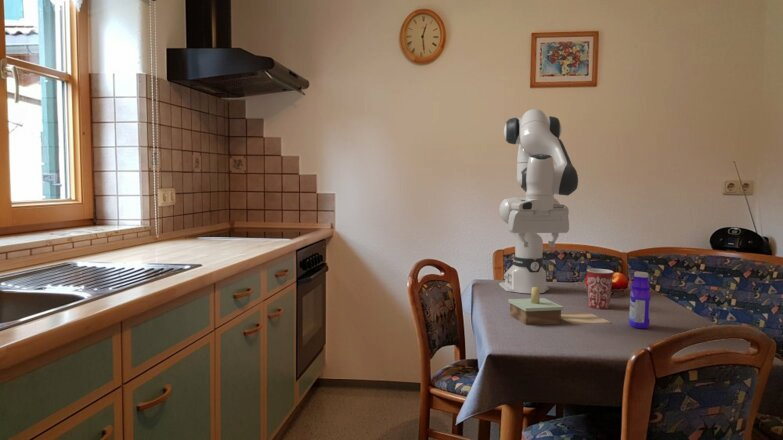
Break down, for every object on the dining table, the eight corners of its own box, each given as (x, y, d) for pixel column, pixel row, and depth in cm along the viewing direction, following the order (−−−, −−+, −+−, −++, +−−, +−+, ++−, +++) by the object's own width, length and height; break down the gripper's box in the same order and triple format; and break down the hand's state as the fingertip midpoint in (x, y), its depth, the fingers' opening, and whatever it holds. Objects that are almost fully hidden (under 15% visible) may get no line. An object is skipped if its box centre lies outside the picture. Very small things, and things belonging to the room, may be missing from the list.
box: (509, 317, 187) (510, 302, 187) (542, 315, 190) (543, 301, 189) (525, 326, 175) (526, 310, 175) (560, 324, 178) (561, 309, 177)
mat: (550, 315, 190) (550, 313, 190) (587, 313, 193) (587, 312, 193) (572, 326, 177) (572, 324, 176) (611, 324, 180) (611, 322, 179)
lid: (508, 302, 187) (508, 284, 186) (543, 300, 190) (544, 283, 189) (525, 311, 174) (526, 292, 174) (563, 309, 177) (564, 291, 177)
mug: (610, 311, 198) (612, 273, 197) (584, 308, 202) (585, 271, 201) (613, 304, 209) (615, 268, 208) (588, 301, 213) (589, 266, 212)
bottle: (626, 323, 181) (628, 270, 180) (644, 324, 180) (647, 271, 179) (632, 329, 174) (635, 274, 173) (651, 330, 173) (654, 274, 172)
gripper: (563, 204, 185) (562, 245, 186) (506, 203, 181) (505, 246, 182) (573, 204, 179) (572, 247, 180) (514, 204, 175) (513, 248, 175)
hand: (538, 246), depth 181 cm, fingers open, 8 cm apart
